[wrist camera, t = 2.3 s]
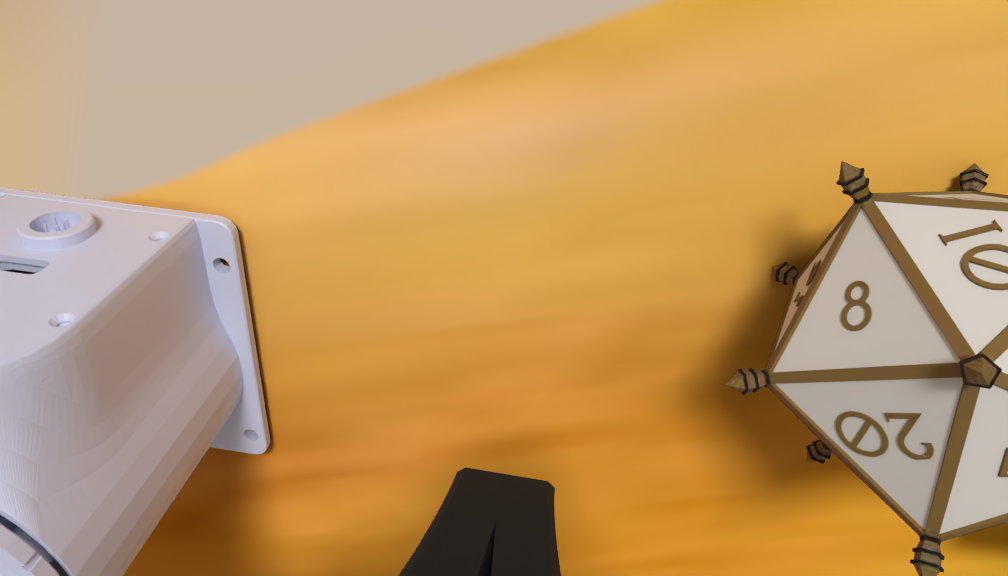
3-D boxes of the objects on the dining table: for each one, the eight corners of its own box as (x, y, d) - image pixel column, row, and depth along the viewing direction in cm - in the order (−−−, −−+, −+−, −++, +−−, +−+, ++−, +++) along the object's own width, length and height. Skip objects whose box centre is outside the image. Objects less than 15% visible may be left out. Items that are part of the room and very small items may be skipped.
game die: (837, 257, 23) (777, 570, 19) (728, 86, 17) (620, 477, 14) (1234, 244, 16) (1251, 703, 13) (1257, -31, 11) (1293, 628, 8)
